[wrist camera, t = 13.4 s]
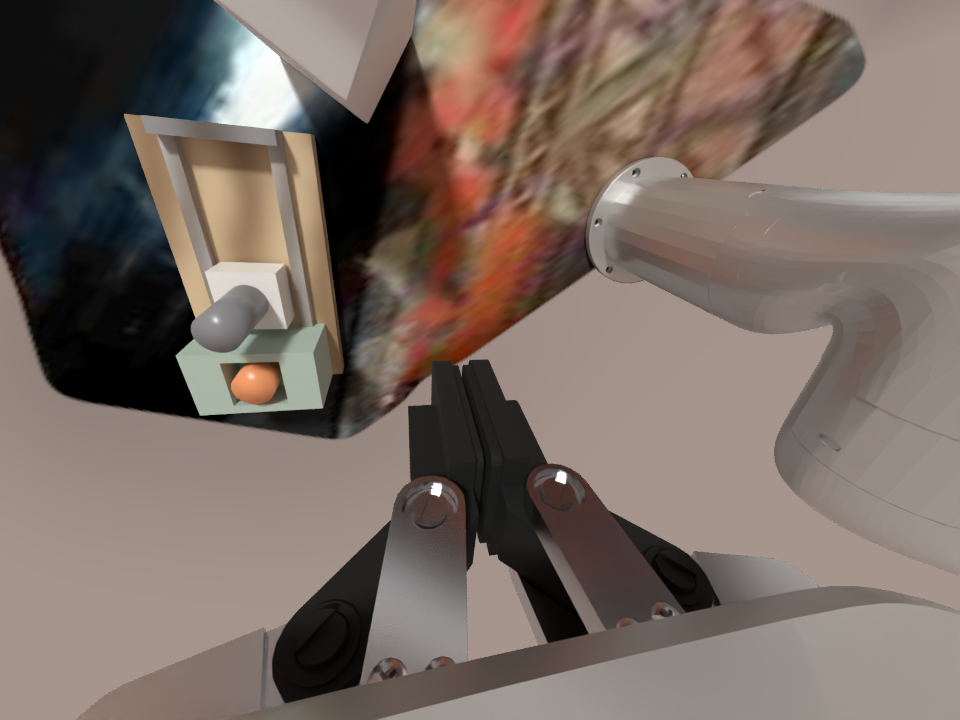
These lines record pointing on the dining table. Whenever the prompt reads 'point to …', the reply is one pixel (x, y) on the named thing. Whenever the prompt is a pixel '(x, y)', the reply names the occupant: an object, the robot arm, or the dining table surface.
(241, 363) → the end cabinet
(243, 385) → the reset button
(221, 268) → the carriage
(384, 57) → the milk carton
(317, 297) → the track
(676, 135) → the dining table surface
